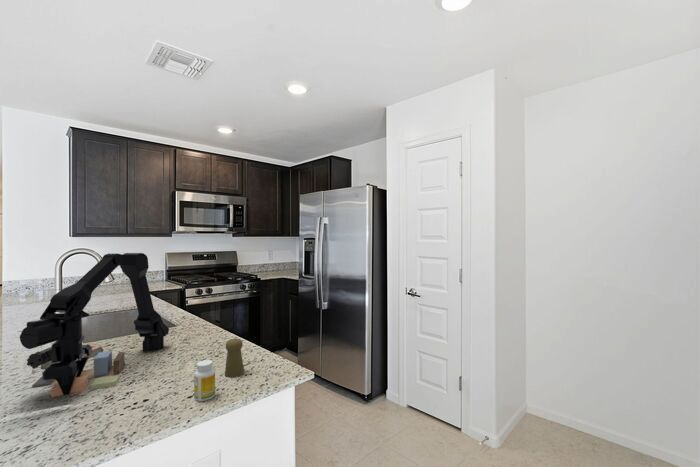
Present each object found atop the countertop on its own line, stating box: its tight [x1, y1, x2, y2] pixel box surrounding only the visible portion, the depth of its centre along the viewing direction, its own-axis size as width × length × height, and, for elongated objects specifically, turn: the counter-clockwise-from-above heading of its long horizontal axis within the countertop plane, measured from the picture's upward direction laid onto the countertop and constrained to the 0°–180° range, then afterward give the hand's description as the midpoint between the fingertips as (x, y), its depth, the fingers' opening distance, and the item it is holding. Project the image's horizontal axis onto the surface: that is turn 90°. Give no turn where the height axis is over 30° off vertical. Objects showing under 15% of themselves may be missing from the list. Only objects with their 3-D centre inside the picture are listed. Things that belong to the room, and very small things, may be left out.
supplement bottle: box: [193, 359, 216, 402], centre depth 91 cm, size 5×5×10 cm
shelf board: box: [30, 351, 125, 389], centre depth 103 cm, size 22×8×6 cm, turn 115°
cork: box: [224, 338, 245, 378], centre depth 105 cm, size 6×6×11 cm
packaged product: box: [31, 343, 104, 374], centre depth 114 cm, size 18×5×10 cm
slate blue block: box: [93, 350, 113, 376], centre depth 105 cm, size 4×6×6 cm, turn 25°
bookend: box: [31, 362, 60, 388], centre depth 99 cm, size 4×8×5 cm, turn 25°
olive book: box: [90, 374, 121, 391], centre depth 96 cm, size 6×4×3 cm
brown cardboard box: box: [50, 375, 89, 398], centre depth 93 cm, size 7×6×4 cm
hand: (70, 390), depth 93 cm, fingers closed on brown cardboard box, 6 cm apart
